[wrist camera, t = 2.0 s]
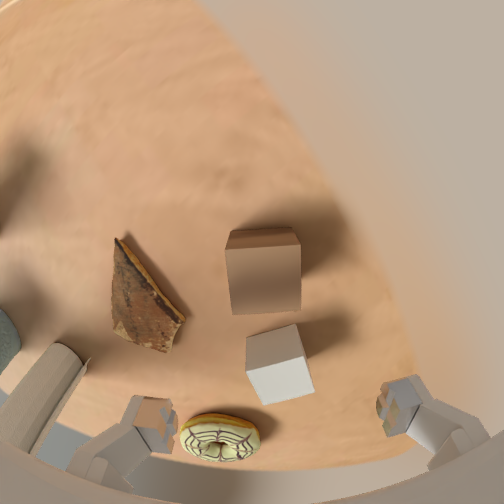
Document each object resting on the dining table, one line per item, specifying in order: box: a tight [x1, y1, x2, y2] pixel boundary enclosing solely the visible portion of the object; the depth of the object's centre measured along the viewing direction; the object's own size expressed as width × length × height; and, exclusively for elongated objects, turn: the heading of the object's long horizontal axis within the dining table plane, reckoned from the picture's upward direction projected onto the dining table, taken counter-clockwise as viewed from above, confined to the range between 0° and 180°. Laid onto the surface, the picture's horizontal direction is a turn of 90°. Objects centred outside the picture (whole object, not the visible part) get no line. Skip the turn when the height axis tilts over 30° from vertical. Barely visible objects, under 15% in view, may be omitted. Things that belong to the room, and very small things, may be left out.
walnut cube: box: [225, 227, 301, 315], centre depth 21 cm, size 5×5×5 cm
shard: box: [111, 238, 186, 353], centre depth 25 cm, size 11×8×2 cm
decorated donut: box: [180, 413, 261, 462], centre depth 30 cm, size 10×11×4 cm
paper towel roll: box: [0, 343, 91, 457], centre depth 18 cm, size 7×6×21 cm
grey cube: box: [245, 324, 315, 405], centre depth 25 cm, size 5×5×5 cm
